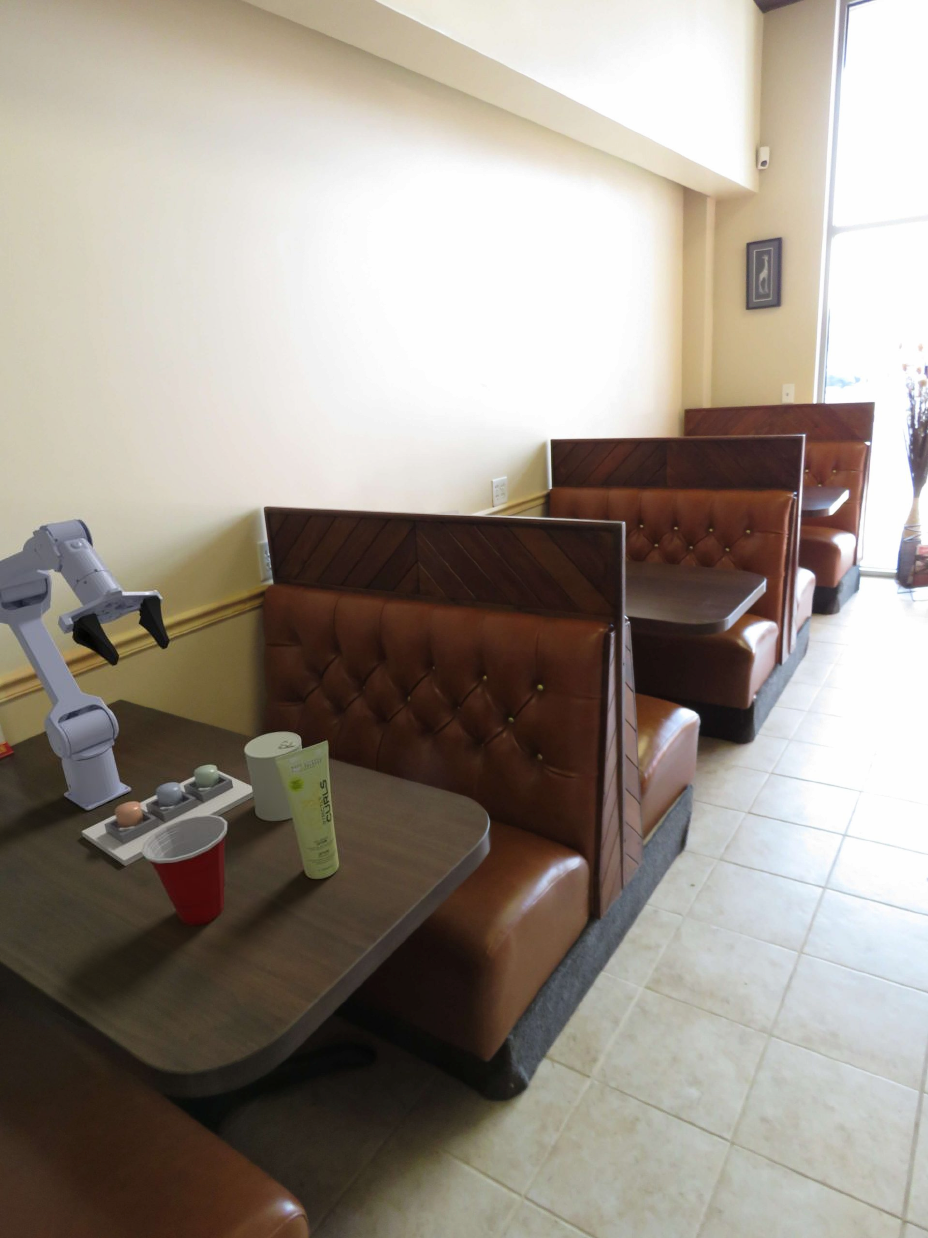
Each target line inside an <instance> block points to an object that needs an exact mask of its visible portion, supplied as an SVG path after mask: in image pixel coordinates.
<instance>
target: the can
mask: <svg viewBox="0 0 928 1238" xmlns="http://www.w3.org/2000/svg"><path fill="white" fill-rule="evenodd" d="M301 749H303V746H302V738H301V736H300V735H298V734H297V733H295V732H290V731H276V732H270V733H269V732H268V733H265V734H262V735H260V736H257V737H256V738H254V739H251V740H250V741H249V742H248V743H246V744H245V746H244V750H243V751H244V755H245V759H246V764H247V770H248V773H249V779H250V783H251V784H250V786H252V791H253V796H254V797H253V802H254V812H255V815H256V816H257V817H258V818H259V819H261V820H264V821H266V822H267V821H268V822H280V821H286V820H289V819H293V818H292V814H291V810H290V806H289V803H288V799H287V795H286V792H285V788H284V785H283V782H282V779H281V775H280V772H279V770H278V767H277V765H276V762H275V758H277V757H280V756H283V755H286V754H289V753H292V752H295V751H298V750H301Z"/></svg>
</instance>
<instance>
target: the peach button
mask: <svg viewBox="0 0 928 1238" xmlns="http://www.w3.org/2000/svg"><path fill="white" fill-rule="evenodd" d="M140 803H141V802H139V801H134V800H133V801H128V802H124V803H122V804H119V805H118V806H116V808H114V814H115V816H116V820H117V823H118V826H119V827H121V828H128V827H132V826H135V825H137V824H139V823H140V822H141V821H142V820H143V814H142V810H141V805H140Z"/></svg>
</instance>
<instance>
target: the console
mask: <svg viewBox="0 0 928 1238" xmlns="http://www.w3.org/2000/svg"><path fill="white" fill-rule="evenodd" d="M217 772H218V777H219V782H218V783H217V784H216V785H214V786H212V787H208V788H198V787H197V786H196V781H195V777H194V776H193V777H190V778H188V779H186V780H184V781H182V782H180V783H179V784H180V788H181V792H182V797H183V799H182V801H181V802H180V803H178V804H176V805H174V806H171V807H161V806H159V803H158V799H157V795H156V794H155V795H153V796H151V797H149V798H147V799H145V800H143V801H141V802H139V803H140V805H141V810H142V814H143V820H142V821H141V822H140V823H139V824H137V825H135V826H132V827H128V828H121V827H119V826H118V823H117V820H116V816H115V815H111V816H110V817H108V818H106V819H105V820H102V821H100V822H98V823H96V824H93V825H92V826H90V827H88V828H86V829H84V830H82V831H81V834H82V837H83V838H85V839H86V840H87V841H89V842H91V843H92V844H93V845H95V846H96V847H97V848H99V849H100V850H102V851H103V852H104V853H106V854H107V855H109V856H110V857H112V858H114V859H115V860H116V861H118V862H119V863H120V864H121V865H123V866H125V867H127V866H129V865H130V864H132V863H135V862H136V861H138V860H140V859H141V858H143V857H145V856H144V855H143V854H142V852H141V851H142V847H143V844H144V843H145V842H146V840H147V839H148V838H149V837H150V836H151V835H152V834H154V833H155V832H157V831H159V830H160V829H162V828H163V827H165V826H167V825H170V824H172V823H174V822H177V821H179V820H182V819H186V818H190V817H194V816H203V815H213V816H219V817H220V816H221V815H222V814H224V813H226V812H227V811H230V810H231V809H233V808H235V807H237V806H239V805H241V804H242V803H244V802H247V801H248V800H250V799H252V798H254V796H253V791H252V785H251V784H248V783H245V782H244V781H241V780H240V779H237V778H234V777H233V776H231V775H228V774H226V773H224V772H222V771H220V770H218V769H217Z"/></svg>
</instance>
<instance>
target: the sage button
mask: <svg viewBox="0 0 928 1238" xmlns="http://www.w3.org/2000/svg"><path fill="white" fill-rule="evenodd" d="M217 770H218V767H217V766H216V765H214V764H205V765H201V766H199V767H197V768H196V769H194V771H193V775H194V776H193V777H195V781H196V786H197V787H198V788H208V787H212V786H214V785H216V784H217V783H218V782H219V777H218V772H217Z"/></svg>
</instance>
